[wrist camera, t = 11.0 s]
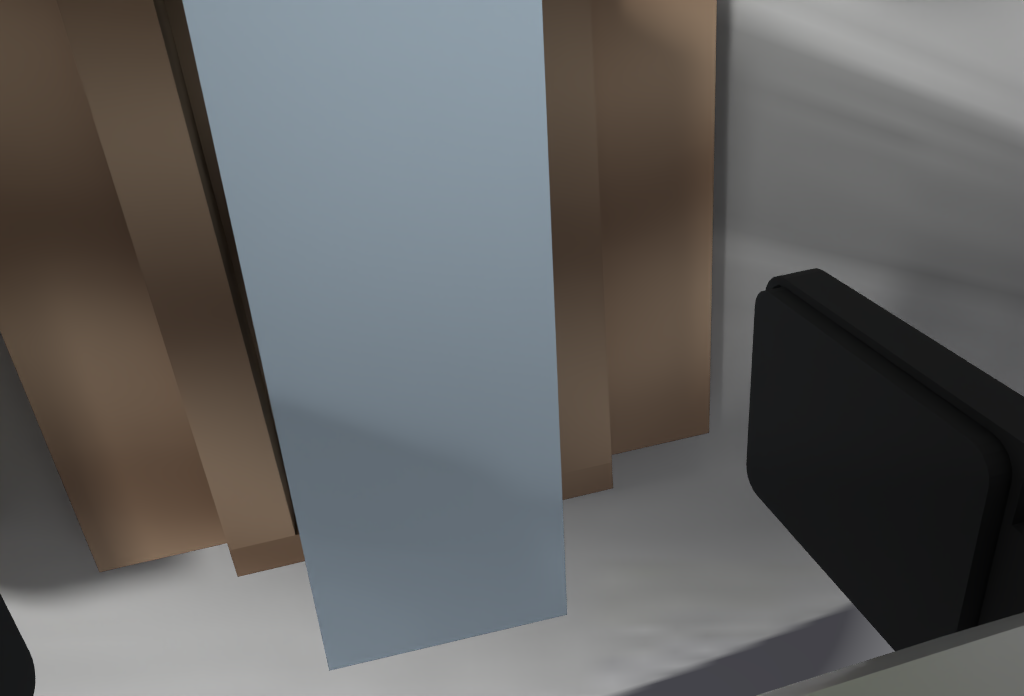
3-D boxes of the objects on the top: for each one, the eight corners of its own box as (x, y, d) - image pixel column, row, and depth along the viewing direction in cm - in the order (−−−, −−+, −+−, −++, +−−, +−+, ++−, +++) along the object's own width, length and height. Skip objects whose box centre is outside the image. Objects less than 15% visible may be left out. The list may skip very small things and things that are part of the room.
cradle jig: (-164, -128, 15) (-236, -134, 13) (698, -205, 18) (758, -220, 16) (105, 546, 22) (88, 615, 20) (693, 414, 25) (734, 462, 23)
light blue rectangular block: (202, -71, 16) (169, -62, 10) (445, -89, 17) (537, -89, 11) (311, 470, 21) (329, 670, 16) (490, 436, 22) (567, 614, 17)
